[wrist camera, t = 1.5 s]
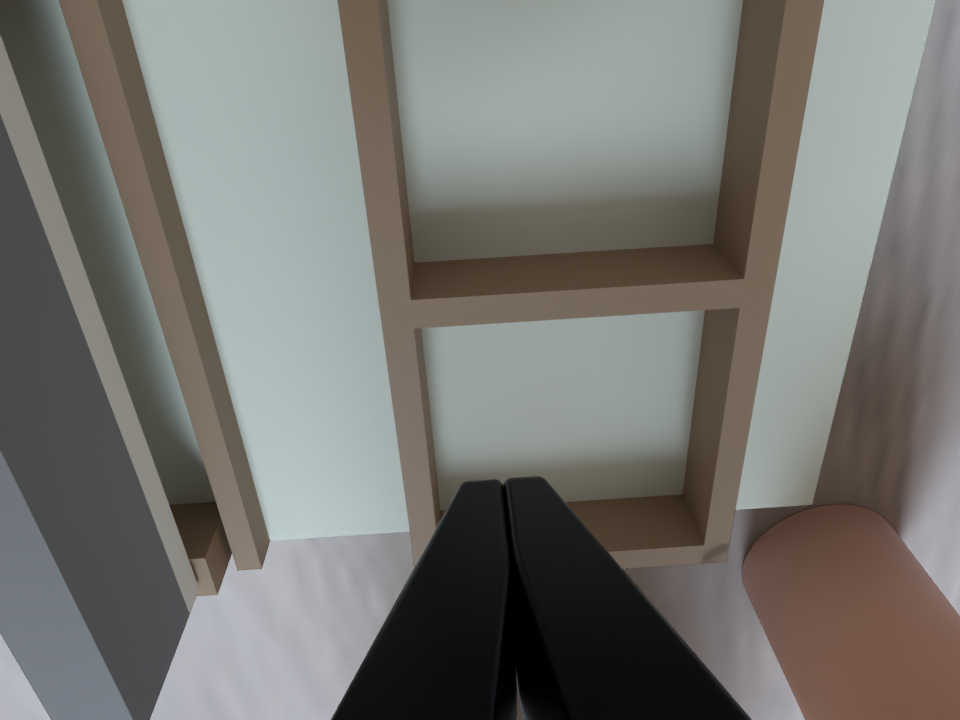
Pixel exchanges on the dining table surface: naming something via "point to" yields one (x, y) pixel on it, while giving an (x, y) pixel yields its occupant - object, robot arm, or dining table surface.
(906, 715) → the tan brown cylinder
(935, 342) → the dining table surface
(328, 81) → the board
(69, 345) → the lid
